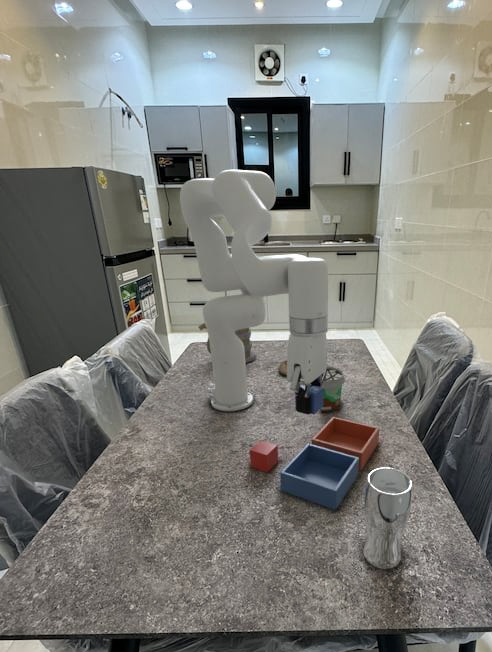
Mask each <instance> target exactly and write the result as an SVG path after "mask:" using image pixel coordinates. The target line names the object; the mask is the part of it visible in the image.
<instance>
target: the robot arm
mask: <svg viewBox="0 0 492 652" xmlns="http://www.w3.org/2000/svg"><path fill="white" fill-rule="evenodd" d="M276 199H277V190H276V185H275V183H274V181H273V179H272V178H271V176H270V175H268V174H267V173H265V172H263V171H259V170H247V169H246V170H245V169H244V170H243V169H225V170H223V171H221V172H219V173H217V174H216V176H214V177H213V178H205V177H204V178H193V179H190V180H187V181H185V182H184V183H183V184H182V185H181V188H180V192H179V205H180V210H181V214H182V217H183V220H184V223H185V225H186V227H187V229H188V231H189V233H190V236H191V239H192V241H193V244H194V249H195V255H196V261H197V264H198V265H197V266H198V269H199V274H200V279H201V282H202V284H203V285H202V286H203V288H204V289H205V290H206V291H208V292H211V293H221V292H222V293H223V292H230V291H239V290H240V293H241V294H231V295H226V296H225V295H224V296H218V297H215V298H211V299H209V300H208V301H206V303H204V305H203V307H202V317H203V321H204V323H205V325H206V328H207V329H206V332H207V337H208V336H209V342H210V349H211V354H210V356H211V365H212V374H213V376H212V377H213V383H209V384H208V387H207V388H206V393H209V394H212V397H211V399H210V404H211V407H212V408H214V410H218V411H221V412H236V411H242V410H245V409H246V408H248V407H250V406H251V405H253V403H254V396H253V394H251V393H250V392H248V377H247V366H246V364H247V363H245V350H244V345H243V342H242V341H241V340H240V338H239V337H238V336H237V335H236V334H235V331H237V330H240V329H245V328H250V329H251V328H255V327H259V326H261V325H262V324H264V321H265V319H266V315H267V314H266V303H265V298H266V297H272V296H278V295H288V321H289V322H288V323H289V324H288V325H289V326H288V327H289V335H288V341H287V351H286V360H287V375H286V379H287V381H288V382H289V383H290V384H289V390H290V391H292V392H293V393H294V397H295V396H296V407H295V411H296V410H297V411H296V412H297V413H300V414H304V415H308V416H309V415H311V414H310V413H311V396H309V392H310V385H314V386H322V385H323V377H324V374H325V372H326V368H327V367H328V341H327V334H328V331H329V264H328V262H327V261H326V260H325V259H324V258H320V257H308V256H305V255H303V254H299V253H297V254H295V253H292V254H277V255H264V256H258V255H257V254H256V253H255V252H254V250H253V248H252V247H253V246H254V245H256V244H258V243H260V242H261V241H262V240H263V239H264V238H265V237H266V236H267V235H268V233H269V232H270V231H271V229H272V225H273V217H272V215H271V213H270V210H271V209H272V208H273V207H274V205H275V202H276ZM214 217H216V218H217V217H220V218H221V217H222V218H223V217H225V218H226V220H227V222H228V223H229V225H230V226H231V229H232V230H233V232H234V233H233V235H232V239H231V244H230V245H231V246H230V251H229V247H228V240H227V237H226V234H225V232H224V231H223V229H222V228H221V227H220V226H219V225H218V223H216V222H215V220H214V219H213V218H214ZM303 385H305V390H304V389H303V388H302V387H301V386H303Z"/></svg>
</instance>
